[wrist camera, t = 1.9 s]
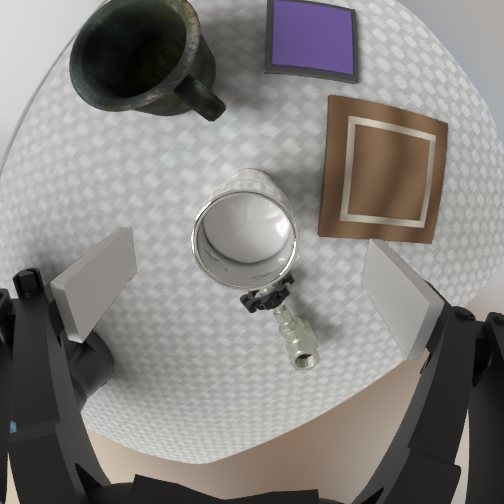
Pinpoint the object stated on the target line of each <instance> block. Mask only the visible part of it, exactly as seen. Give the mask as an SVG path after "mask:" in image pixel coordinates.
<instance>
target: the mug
mask: <svg viewBox="0 0 504 504" xmlns="http://www.w3.org/2000/svg"><path fill="white" fill-rule="evenodd" d="M200 32H201V31H200V22H199V19H198V16H197V13H196V11H195V10H194V8H193V7H192V5H191V4H190V3H189V2H188V1H187V0H111V1H109V2H108V3H106V4H105V5H103V6H102V7H101V8H100V9H98V10H97V11H96V12H95V13H94V14H93V15H92V16H91V17H90V18H89V19H88V20H87V22H86V23H85V24H84V26H83V27H82V29H81V30H80V32H79V34H78V35H77V37H76V40H75V42H74V44H73V47H72V51H71V55H70V62H69V72H70V77H71V81H72V84H73V87H74V89H75V90H76V92H77V94H78V95H79V96H80V97H81V98H82V99H83V100H84V101H85V102H86V103H88V104H89V105H91V106H93V107H95V108H97V109H100V110H104V111H111V112H120V111H128V110H135V111H140V112H144V113H149V114H154V115H159V116H173V115H178V114H181V113H184V112H186V111H188V110H190V109H194V110H195V111H196V112H197V113H199V114H200V115H201V116H202V117H204V118H205V119H206V120H208V121H215V120H216V119H217V118H219V117H220V116H221V115H222V114H223V112H224V111H225V110H226V105H225V104H224V103H223V102H222V101H221V100H220V99H219V98H218V97H217V96H216V95H214V94H213V93H212V92H211V91H210V89H211V87H212V85H213V83H214V79H215V73H216V66H215V61H214V57H213V55H212V53H211V51H210V49H209V47H208V46H207V44H206V42H205V40H204V38H203V36H202V35H201V33H200Z"/></svg>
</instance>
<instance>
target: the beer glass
mask: <svg viewBox="0 0 504 504" xmlns="http://www.w3.org/2000/svg"><path fill="white" fill-rule="evenodd" d="M191 247H192V252H193V255H194V258H195V260H196V262H197V264H198V266H199V267H200V269H201V270H202V271H203V272H204V273H205V274H206V275H207V276H208V277H209V278H210V279H211V280H213V281H214V282H215V283H217V284H219V285H221V286H223V287H226V288H228V289H232V290H237V291H255V290H260V289H263V288H266V287H268V286H271V285H273V284H274V283H276V282H277V281H279V280H280V279H281V278H283V277H284V276H285V275H286V274H287V272H288V271H289V270H290V269H291V267H292V265H293V264H294V262H295V260H296V257H297V254H298V250H299V232H298V228H297V224H296V220H295V215H294V212H293V209H292V207H291V204H290V202H289V201H288V199H287V197H286V196H285V195H284V193H283V192H282V191H281V190H280V189H279V188H278V187H277V186H276V185H275V183H274V182H273V180H272V179H271V178H270V177H269V176H268V175H267V174H265V173H263V172H261V171H259V170H254V169H245V170H241V171H239V172H237V173H235V174H233V175H232V176H231V177H230V178H229V179H228V180H226V181H224V182H223V183H221V184H220V185H219V186H218V187H216V188H215V189H214V190H213V191H212V192H211V193H210V194H209V196H208V197H207V199H206V200H205V202H204V203H203V205H202V207H201V209H200V211H199V213H198V215H197V217H196V219H195V221H194V224H193V227H192V232H191Z"/></svg>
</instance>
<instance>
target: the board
mask: <svg viewBox="0 0 504 504" xmlns="http://www.w3.org/2000/svg"><path fill="white" fill-rule="evenodd" d="M447 132H448V124H447V123H444V122H441V121H438V120H435V119H432V118H429V117H426V116H423V115H420V114H416V113H413V112H409V111H406V110H402V109H398V108H395V107H391V106H386V105H382V104H378V103H373V102H369V101H364V100H359V99H354V98H348V97H342V96H336V95H329V96H328V114H327V134H326V150H325V163H324V176H323V187H322V198H321V208H320V217H319V226H318V235H319V237H335V238H352V239H368V240H370V239H382V240H384V241H399V242H413V243H426V244H432V239H433V235H434V230H435V226H436V221H437V216H438V210H439V205H440V199H441V192H442V185H443V178H444V169H445V160H446V148H447Z"/></svg>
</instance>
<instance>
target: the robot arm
mask: <svg viewBox="0 0 504 504" xmlns="http://www.w3.org/2000/svg"><path fill="white" fill-rule="evenodd" d="M136 273H137V267H136V260H135V252H134V244H133V235H132V228H119V229H117V230H116V231H115V232H113V233H112V234H110V235H109V236H108V237H106V238H105V239H104V240H102V241H101V242H100V243H98V244H97V245H96V246H94V247H93V248H92V249H91V250H89V251H88V252H87V253H85V254H84V255H83V256H82V257H80V258H79V259H78V260H76V261H75V262H74V263H73V264H71V265H70V266H69V267H67V268H66V269H65V270H63V271H62V273H60V274H59V275H57V277H55V278H54V279H53V280H52V281H50V282H49V283H48V284H47V285H46V286H45V287H44V285H43V282H42V278H41V275H40V271H39V269H37V268H28V269H25V270H22V271H20V272H18V273H17V274H16V275H15V276H14V277H13V282H14V285H15V288H16V291H17V294H18V299H11V298H10V295H9V292H8V290H7V289H0V504H5V501H6V492H7V461H8V453H9V459H10V465H11V469H12V474H13V479H14V483H15V487H16V491H17V495H18V499H19V502H20V504H344V503H341V502H337V501H334V500H329V499H325V498H319V495H318V489H315V490H303V491H281V492H269V493H264V494H259V495H254V496H248V497H242V498H235V499H228V500H223V499H219V498H215V497H212V496H209V495H206V494H203V493H201V492H198V491H195V490H192V489H190V488H187V487H185V486H182V485H180V484H177V483H172V482H167V481H162V480H157V479H153V478H149V477H144V476H140V475H137V474H135V478H134V481H133V483H131V482H129V483H116V484H111V482H110V481H109V479H108V478H107V477H106V475H105V474H104V472H103V470H102V469H101V467H100V464H99V462H98V460H97V458H96V455H95V453H94V450H93V447H92V445H91V442H90V440H89V437H88V434H87V432H86V429H85V426H84V423H83V420H82V417H81V414H80V413H81V411H82V409H83V407H84V405H85V403H86V401H87V399H88V398H89V397H90V396H91V395H92V394H93V393H95V392H96V391H97V390H98V389H99V388H100V387H102V386H103V385H105V384H106V383H107V382H108V380H109V379H110V377H111V375H112V373H113V370H114V363H113V359H112V356H111V354H110V352H109V350H108V348H107V347H106V345H105V344H104V343H103V342H102V340H101V339H100V338H99V337H98V336H97V335H96V334H95V333H94V332H93V331H92V329H93V328H94V327H95V325H96V324H97V323H98V321H99V320H100V319H101V317H102V316H103V315H104V313H105V312H106V311H107V309H108V308H109V307H110V306H111V304H112V303H113V302H114V300H115V299H116V298H117V297H118V295H119V294H120V293H121V292H122V290H123V289H124V288H125V287H126V285H127V284H128V283H129V282H130V280H131V279H132V278H133V277H134V276H135V274H136ZM361 284H362V286H363V288H364V289H365V291H366V293H367V294H368V296H369V297H370V299H371V301H372V302H373V304H374V306H375V307H376V309H377V311H378V312H379V314H380V316H381V317H382V319H383V321H384V323H385V324H386V326H387V328H388V329H389V331H390V333H391V335H392V336H393V338H394V340H395V342H396V344H397V345H398V347H399V349H400V351H401V353H402V355H403V356H404V358H405V360H414V359H420V358H421V356H422V354H423V352H424V350H425V348H427V349H428V351H429V352H430V354H429V356H428V358H427V360H426V362H425V364H424V365H423V367H422V369H421V371H420V373H421V377H420V379H419V383H418V385H417V387H416V390H415V393H414V395H413V397H412V400H411V402H410V405H409V407H408V409H407V411H406V414H405V416H404V418H403V420H402V422H401V424H400V427H399V429H398V431H397V433H396V435H395V437H394V439H393V441H392V442H391V445H390V446H389V448H388V450H387V452H386V454H385V455H384V457H383V459H382V461H381V462H380V464H379V466H378V468H377V469H376V471H375V473H374V474H373V476H372V477H371V479H370V481H369V482H368V484H367V485H366V487H365V488H364V489H363V491H362V492H361V493H360V494H359V496H357V497H356V499H355V500H354V501H353V502H352V503H351V504H451V501H452V499H453V496H454V493H455V491H456V488H457V485H458V482H459V479H460V475H461V467H460V466H458V465H455V464H454V462H455V458H456V454H457V451H458V447H459V444H460V440H461V436H462V432H463V428H464V423H465V419H466V414H467V409H468V414H469V445H470V446H469V472H468V485H467V493H466V501H465V504H504V315H502V314H501V313H496V312H490V313H489V314H488V316H487V318H486V320H485V322H482V321H476V319H475V316H474V315H473V314H472V313H471V312H470V311H469V310H467V309H465V308H463V307H459V306H453V307H452V306H451V305H450V304H449V303H448V302H447V301H446V300H445V299H444V297H443V296H442V295H440V293H439V292H438V291H437V290H436V289H435V288H434V287H433V286H432V285H431V284H430V283H429V282H427V281H425V280H424V279H422V278H421V277H420V276H419V275H418V274H417V273H416V272H415V271H414V270H413V269H412V268H411V267H410V266H409V265H408V264H407V263H406V262H405V261H404V260H403V259H402V258H401V257H400V256H399V255H398V254H397V253H396V252H395V251H394V250H393V249H392V248H391V247H389V246H388V245H387V244H386V243H385V242H384V241H383V240H382V239H370V240H369V245H368V250H367V256H366V260H365V265H364V270H363V275H362V279H361Z"/></svg>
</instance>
